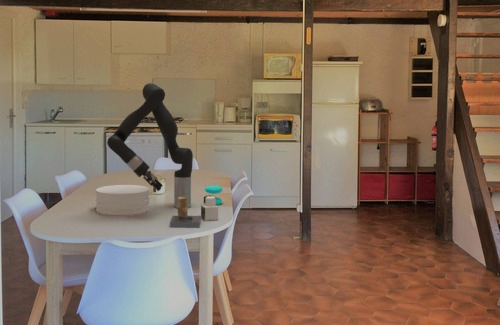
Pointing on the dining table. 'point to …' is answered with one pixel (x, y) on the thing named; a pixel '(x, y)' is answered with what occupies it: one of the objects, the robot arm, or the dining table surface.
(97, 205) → the plate stack
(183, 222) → the socket plate
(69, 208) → the dining table surface
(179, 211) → the square peg
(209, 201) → the medicine bottle
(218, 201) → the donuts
